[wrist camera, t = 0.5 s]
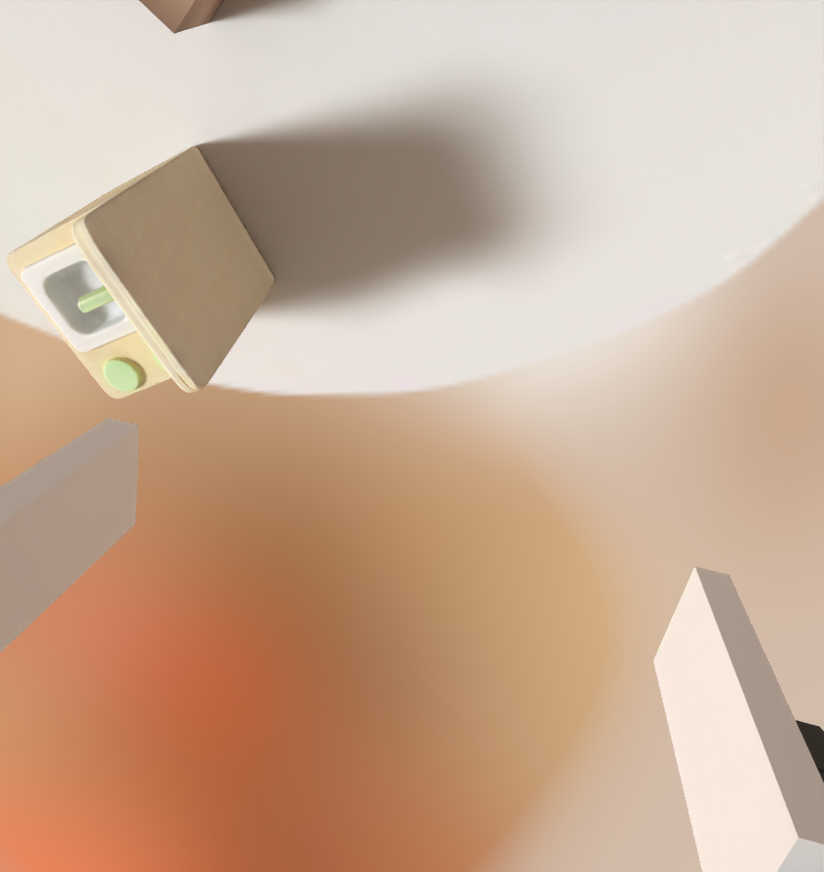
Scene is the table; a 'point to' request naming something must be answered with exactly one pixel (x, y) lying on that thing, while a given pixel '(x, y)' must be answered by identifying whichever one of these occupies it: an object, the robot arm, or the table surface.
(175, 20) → the walnut block
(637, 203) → the table surface
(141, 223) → the toy sink
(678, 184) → the table surface
